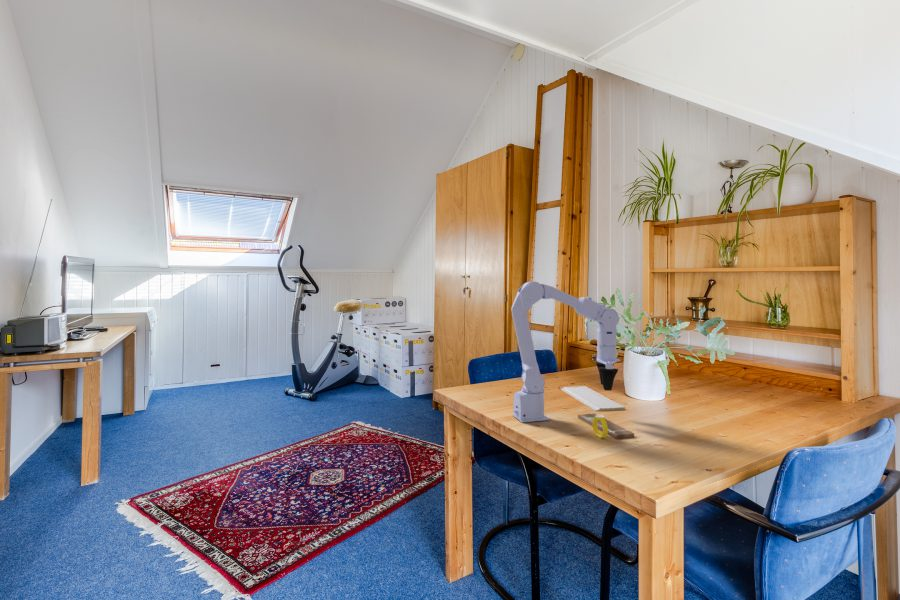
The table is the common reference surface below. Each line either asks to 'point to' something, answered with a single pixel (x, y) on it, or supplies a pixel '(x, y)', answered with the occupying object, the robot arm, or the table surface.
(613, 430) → the board
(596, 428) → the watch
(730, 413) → the table surface
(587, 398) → the baseboard molding
